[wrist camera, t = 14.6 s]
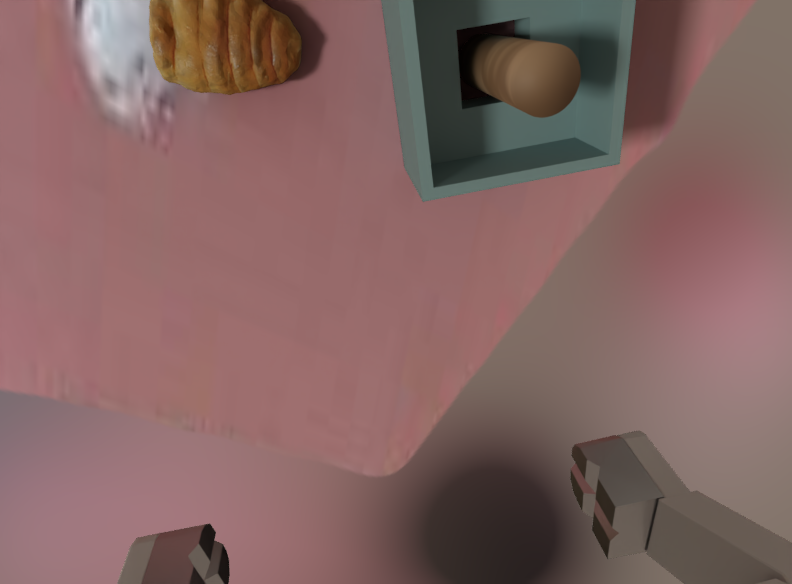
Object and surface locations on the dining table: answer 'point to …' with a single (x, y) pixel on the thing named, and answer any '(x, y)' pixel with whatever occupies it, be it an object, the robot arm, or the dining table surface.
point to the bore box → (494, 119)
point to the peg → (521, 72)
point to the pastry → (223, 44)
